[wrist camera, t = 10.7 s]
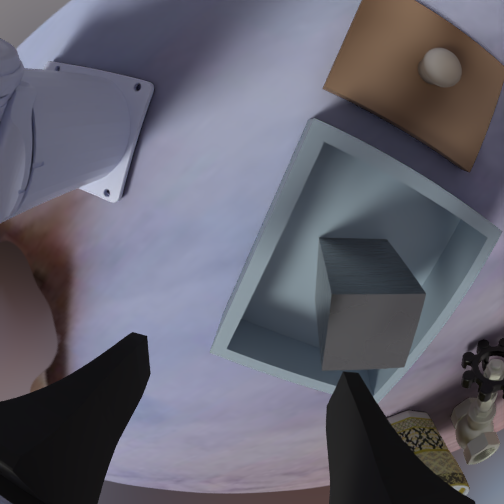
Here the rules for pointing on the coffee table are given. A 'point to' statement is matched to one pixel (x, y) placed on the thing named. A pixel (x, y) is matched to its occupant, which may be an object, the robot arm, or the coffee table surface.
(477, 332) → the coffee table surface
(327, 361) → the grey rectangular block
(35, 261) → the coffee table surface
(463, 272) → the bin
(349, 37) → the stud block
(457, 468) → the ceramic cup
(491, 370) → the valve
